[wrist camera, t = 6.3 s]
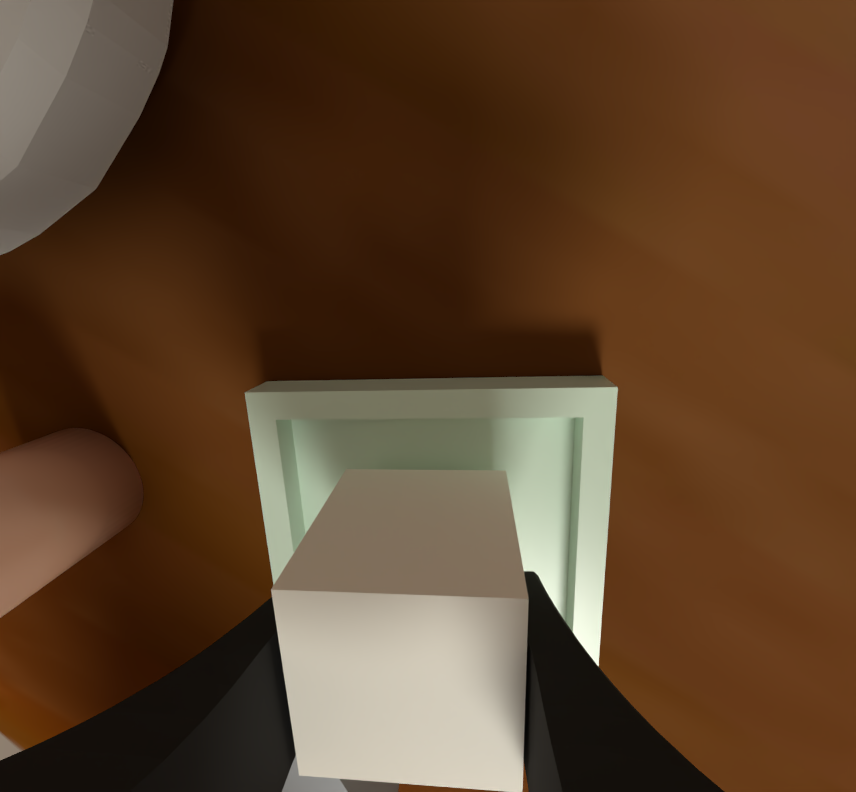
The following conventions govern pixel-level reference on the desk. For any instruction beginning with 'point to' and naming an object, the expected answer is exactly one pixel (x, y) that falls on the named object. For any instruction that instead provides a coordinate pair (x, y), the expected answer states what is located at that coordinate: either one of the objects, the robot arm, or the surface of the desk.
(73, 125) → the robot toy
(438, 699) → the cream block
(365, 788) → the slate block
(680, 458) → the desk surface
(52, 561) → the pink rounded capsule
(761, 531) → the desk surface
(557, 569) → the tray
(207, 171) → the desk surface
